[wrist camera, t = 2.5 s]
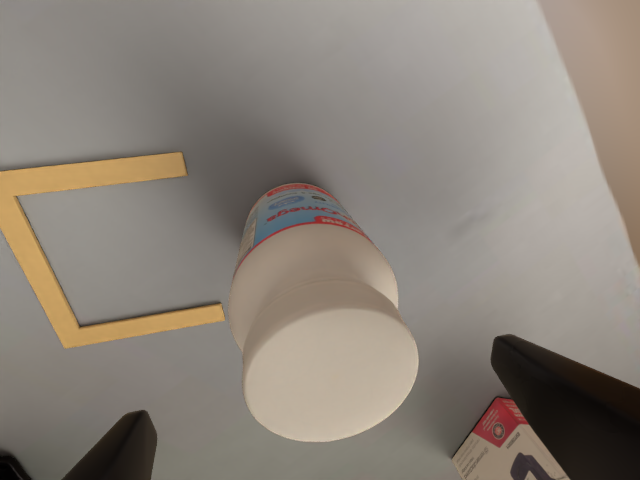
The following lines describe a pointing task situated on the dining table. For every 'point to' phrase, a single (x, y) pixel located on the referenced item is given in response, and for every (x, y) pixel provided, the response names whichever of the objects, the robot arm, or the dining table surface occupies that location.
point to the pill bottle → (317, 320)
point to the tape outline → (9, 216)
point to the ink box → (505, 449)
